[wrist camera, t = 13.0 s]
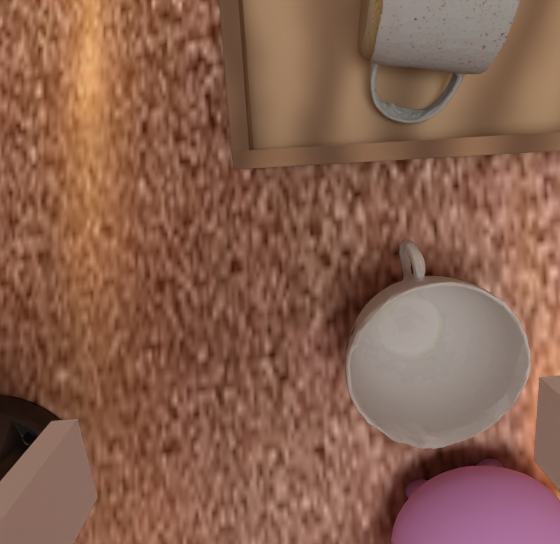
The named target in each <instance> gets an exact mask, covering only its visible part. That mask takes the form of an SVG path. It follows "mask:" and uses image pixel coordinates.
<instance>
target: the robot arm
mask: <svg viewBox="0 0 560 544" xmlns="http://www.w3.org/2000/svg"><path fill="white" fill-rule="evenodd" d="M534 461H535V463H536V464H537V465H538V466H539V467H540V469H541V470H542V471H543V472H544V473H545V475H546V476H547V477H548V478H549V479H550V481H551V482H552V483H553V484H554V485H555V487H556V488H557V489H558V490H559V491H560V376H549V377H539V391H538V406H537V420H536V435H535V449H534ZM97 498H98V496H97V492H96V488H95V484H94V480H93V477H92V473H91V469H90V465H89V461H88V457H87V453H86V449H85V446H84V442H83V438H82V434H81V430H80V426H79V422H78V419H69V420H59V419H57V418H56V417H55V416H54V415H52V414H51V413H49V412H48V411H46V410H44V409H43V408H41V407H39V406H37V405H35V404H32V403H30V402H27V401H24V400H21V399H17V398H13V397H7V396H0V544H74V542H75V540H76V538H77V536H78V535H79V533H80V531H81V529H82V527H83V525H84V523H85V521H86V519H87V517H88V515H89V514H90V512H91V510H92V508H93V506H94V504H95V502H96V500H97Z"/></svg>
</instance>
